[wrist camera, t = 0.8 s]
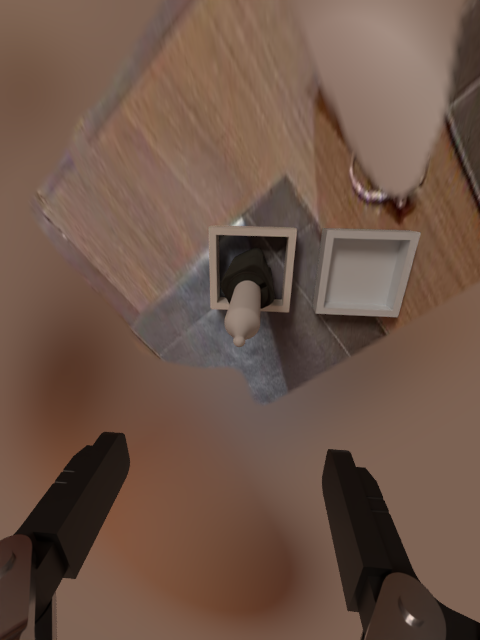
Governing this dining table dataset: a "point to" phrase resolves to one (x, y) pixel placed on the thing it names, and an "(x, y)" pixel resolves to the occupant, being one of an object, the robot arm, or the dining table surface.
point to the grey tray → (363, 271)
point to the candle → (246, 294)
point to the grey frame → (287, 232)
